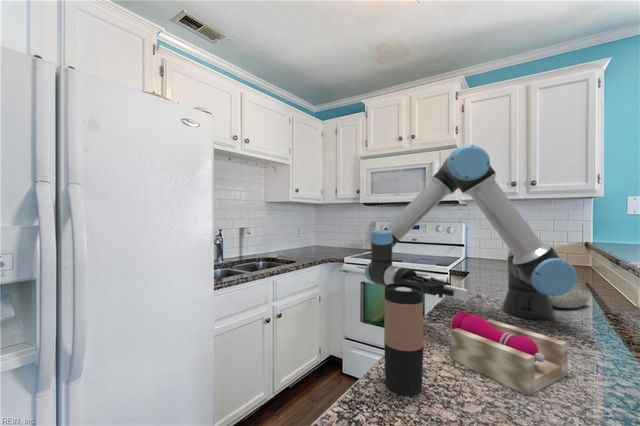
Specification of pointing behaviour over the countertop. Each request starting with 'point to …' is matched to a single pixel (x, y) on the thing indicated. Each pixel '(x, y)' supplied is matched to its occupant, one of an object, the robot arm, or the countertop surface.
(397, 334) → the travel mug
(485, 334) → the pepper mill
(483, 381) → the countertop surface
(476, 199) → the robot arm
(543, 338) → the u rest
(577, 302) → the rock
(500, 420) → the countertop surface
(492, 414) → the countertop surface
